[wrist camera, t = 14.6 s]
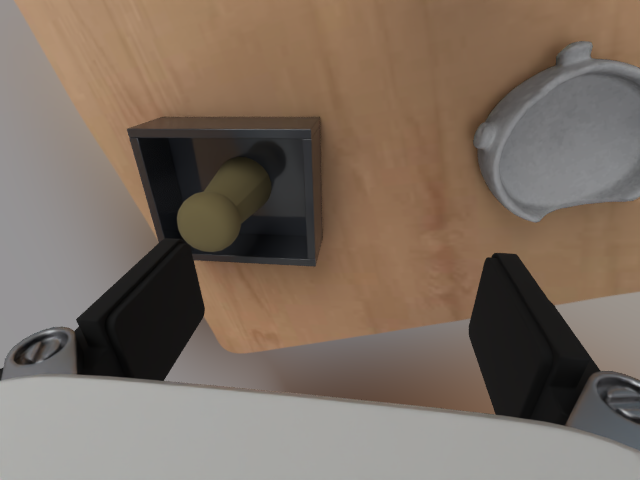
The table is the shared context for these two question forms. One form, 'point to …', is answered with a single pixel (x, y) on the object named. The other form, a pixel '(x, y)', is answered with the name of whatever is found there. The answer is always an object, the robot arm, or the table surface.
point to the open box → (206, 159)
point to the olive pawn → (224, 205)
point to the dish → (565, 137)
